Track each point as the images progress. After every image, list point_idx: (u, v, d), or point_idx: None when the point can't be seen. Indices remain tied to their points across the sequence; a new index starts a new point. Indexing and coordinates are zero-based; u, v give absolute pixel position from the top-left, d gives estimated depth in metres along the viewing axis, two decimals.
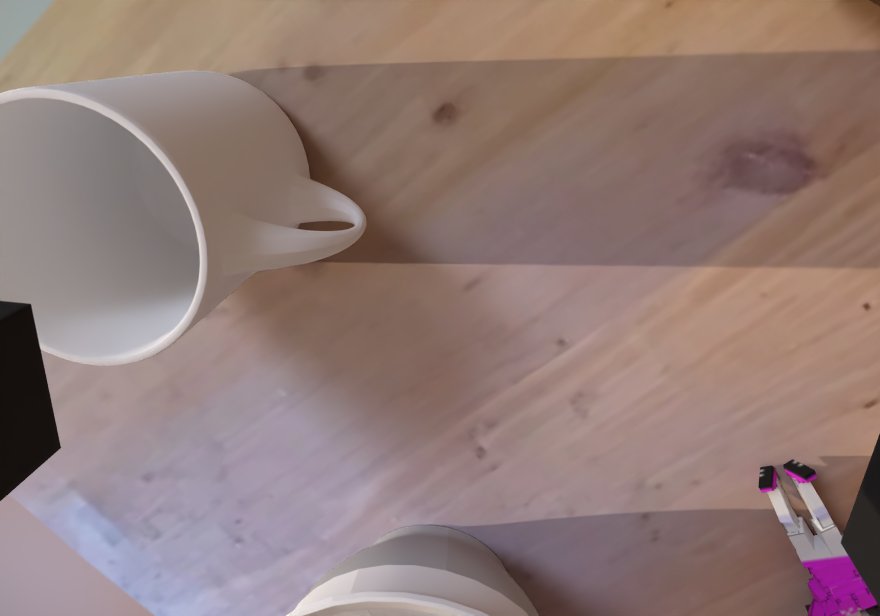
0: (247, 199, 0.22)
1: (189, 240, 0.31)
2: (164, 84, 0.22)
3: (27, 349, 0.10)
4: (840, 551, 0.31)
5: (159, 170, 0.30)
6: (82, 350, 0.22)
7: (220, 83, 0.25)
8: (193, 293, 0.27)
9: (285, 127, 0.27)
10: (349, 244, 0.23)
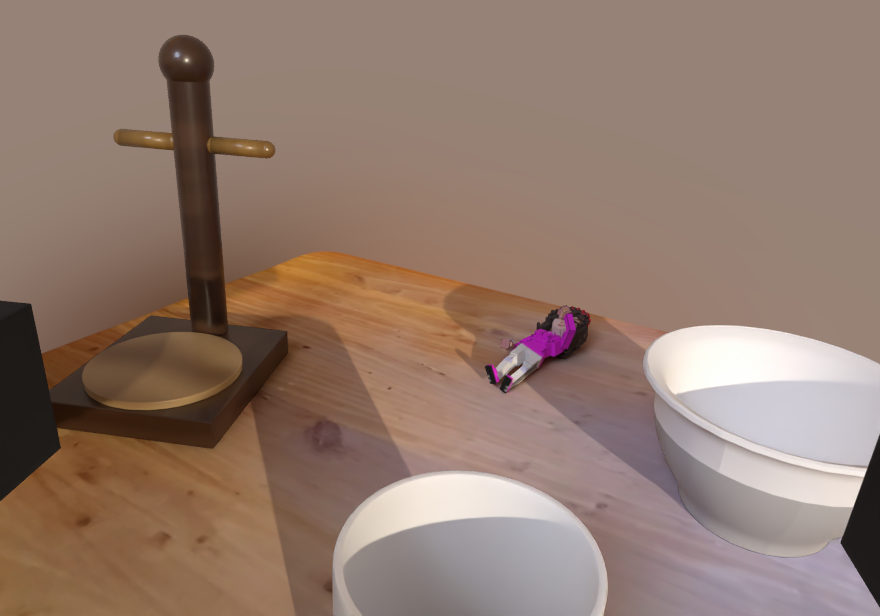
0: None
1: None
2: None
3: (27, 349, 0.10)
4: (522, 346, 0.54)
5: None
6: (587, 552, 0.22)
7: None
8: None
9: None
10: None
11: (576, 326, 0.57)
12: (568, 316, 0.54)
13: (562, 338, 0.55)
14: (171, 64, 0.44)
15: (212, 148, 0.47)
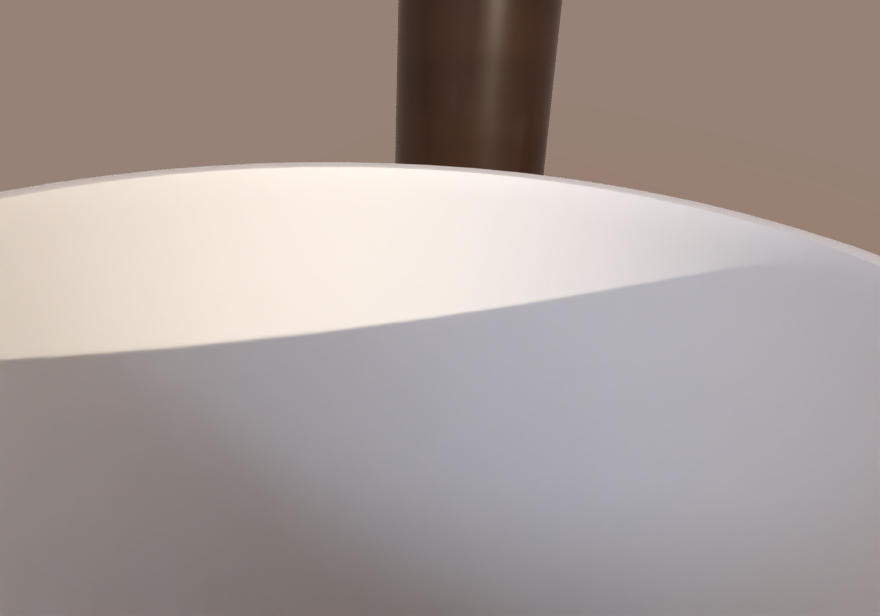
0: None
1: None
2: None
3: None
4: None
5: None
6: (879, 308, 0.05)
7: None
8: None
9: None
10: None
11: None
12: None
13: None
14: None
15: None
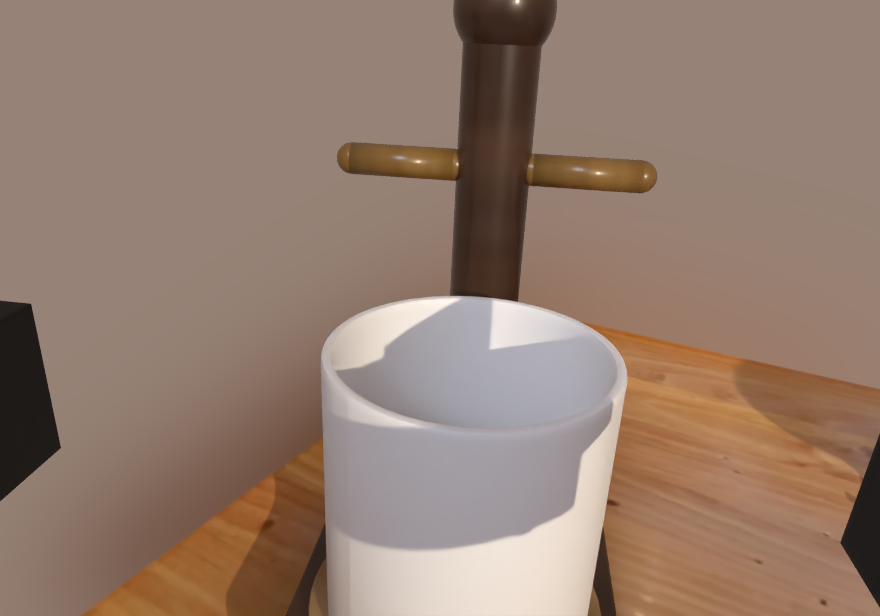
0: None
1: None
2: None
3: (27, 350, 0.10)
4: None
5: None
6: (602, 354, 0.20)
7: None
8: None
9: None
10: None
11: None
12: None
13: None
14: (496, 9, 0.22)
15: (538, 177, 0.25)
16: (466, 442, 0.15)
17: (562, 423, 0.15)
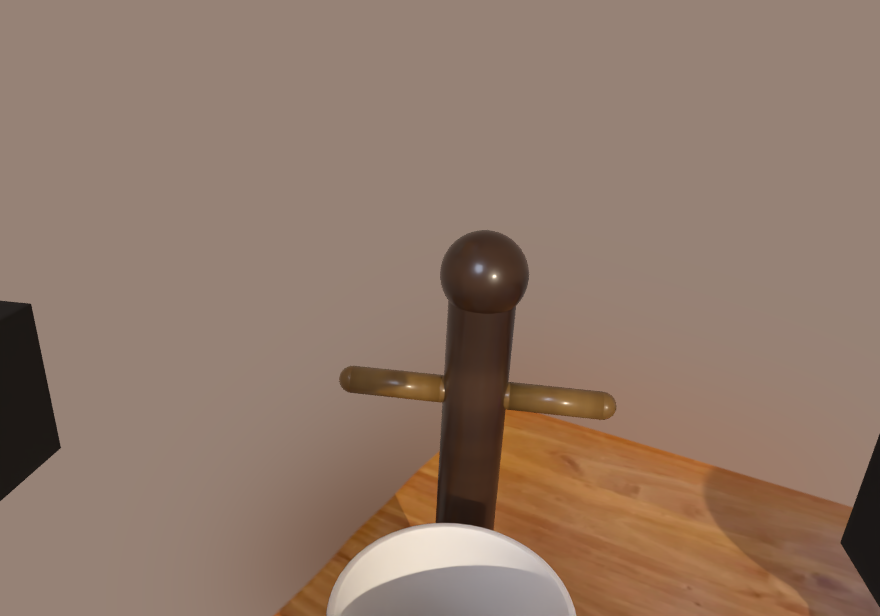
0: None
1: None
2: None
3: (27, 349, 0.10)
4: None
5: None
6: (560, 602, 0.24)
7: None
8: None
9: None
10: None
11: None
12: None
13: None
14: (476, 291, 0.25)
15: (513, 406, 0.29)
16: None
17: None
